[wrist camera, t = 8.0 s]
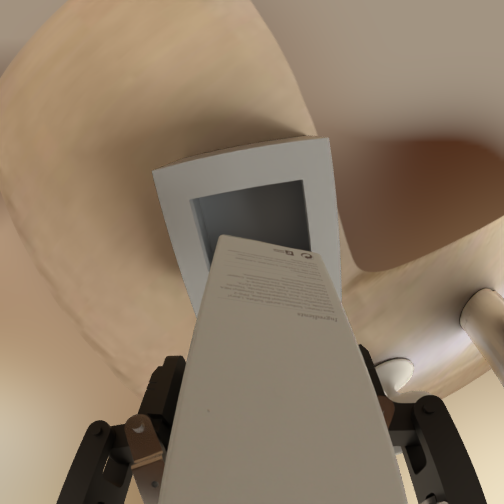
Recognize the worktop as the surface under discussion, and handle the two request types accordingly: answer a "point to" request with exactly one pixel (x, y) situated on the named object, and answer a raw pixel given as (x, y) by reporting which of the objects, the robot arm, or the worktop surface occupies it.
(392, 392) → the chalice
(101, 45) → the worktop surface
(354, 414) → the skincare box
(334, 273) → the open gray box
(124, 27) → the worktop surface
